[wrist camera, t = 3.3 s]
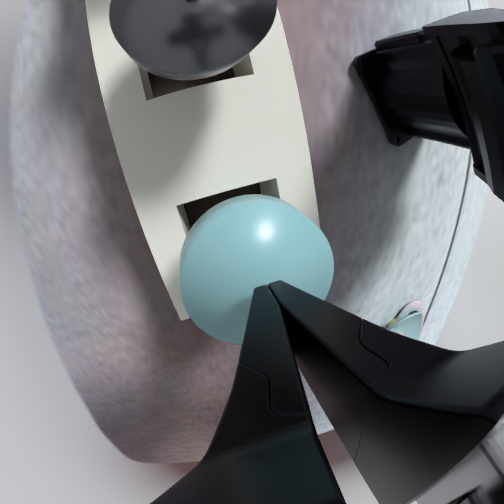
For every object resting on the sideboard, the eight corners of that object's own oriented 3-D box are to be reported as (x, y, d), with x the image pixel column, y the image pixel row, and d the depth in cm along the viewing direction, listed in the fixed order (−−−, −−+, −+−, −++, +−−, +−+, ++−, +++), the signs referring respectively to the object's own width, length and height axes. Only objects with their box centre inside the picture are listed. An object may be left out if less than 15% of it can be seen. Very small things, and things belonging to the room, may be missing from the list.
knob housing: (298, 245, 19) (325, 275, 15) (179, 280, 18) (181, 320, 14) (217, -95, 7) (227, -128, 4) (95, -69, 6) (82, -98, 3)
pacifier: (424, 286, 24) (375, 312, 23) (468, 322, 19) (418, 357, 18) (415, 338, 28) (372, 363, 27) (449, 373, 22) (404, 404, 21)
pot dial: (254, 77, 11) (296, 54, 6) (146, 104, 10) (122, 92, 6) (232, -11, 9) (259, -67, 4) (126, 13, 8) (99, -37, 4)
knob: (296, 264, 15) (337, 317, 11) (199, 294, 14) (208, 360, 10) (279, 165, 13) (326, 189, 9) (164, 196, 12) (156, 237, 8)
